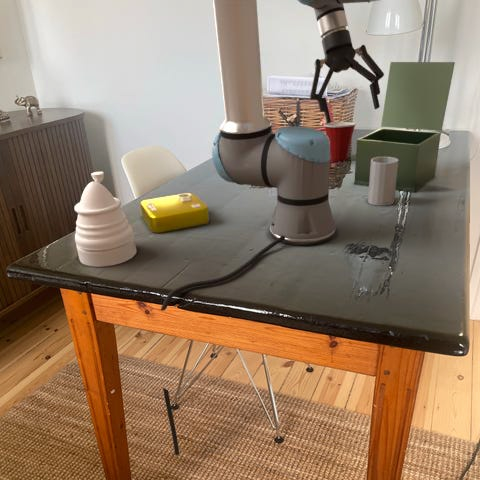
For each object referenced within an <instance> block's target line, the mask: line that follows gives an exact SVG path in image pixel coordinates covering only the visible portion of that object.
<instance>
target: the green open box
mask: <svg viewBox="0 0 480 480" xmlns="http://www.w3.org/2000/svg"><path fill="white" fill-rule="evenodd" d="M441 134H442V132H440V131H427V130H414V129H401V128H388V127H386V128H385V127H381V128H379V129H377V130H374V131H372V132H370V133H368V134H366V135H364V136H361V137H359V138H357V139H356V147H355V148H356V150H355V165H354V166H355V167H354V182H353V183H354V185H359V186H365V187H369V179H370V166H371V159H373V158H376V157H394V158H397V159H398V160H399V162H398V171H397V181H396V191H401V192H408V193H415V192H417V191H418V190H420V189H422V187H423V186H425V185H426V184H427V183H429V182H430V181H432V180H433V179H434V178H435V177H436V172H437V171H436V170H437V163H438V156H439V150H440V143H441V136H442V135H441Z"/></svg>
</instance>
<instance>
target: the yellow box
mask: <svg viewBox="0 0 480 480" xmlns="http://www.w3.org/2000/svg"><path fill="white" fill-rule="evenodd" d="M140 209H141V215H142V219H143V220H144V222H145V223H146V225H147V226H148V227H149V229H150V231H151V232H153V233H155V234H161V233H167V232H172V231H178V230H183V229H187V228H193V227H198V226H205V225H207V224H208V223H209V221H210V217H209V207H208V205H207V204H206V203H205V202H204V201H203V200H201V199H200V197H199V196H197V194H195V193H193V192H184V193H179V194H173V195H167V196H162V197H160V196H159V197H154V198H150V199H143V200H142V201H140Z"/></svg>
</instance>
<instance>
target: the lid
mask: <svg viewBox="0 0 480 480" xmlns="http://www.w3.org/2000/svg"><path fill="white" fill-rule="evenodd" d="M455 65H456V62H455V61H390V64H389V70H388V78H387V84H386V90H385V98H384V103H383V104H384V105H383V110H382V118H381V124H380V127H381V128H385V127H386V128H393V129H407V130H420V131H434V132H442V131H443V126H444V121H445V117H446V116H445V115H446V112H447V111H446V110H447V105H448V101H449V95H450V89H451V85H452V79H453V75H454V70H455Z"/></svg>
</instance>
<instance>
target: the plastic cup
mask: <svg viewBox="0 0 480 480" xmlns="http://www.w3.org/2000/svg"><path fill="white" fill-rule="evenodd" d="M356 125H357V123H356V122H353V121H338V122H330V123H328V124H327V123H324V124H323V127H324V129H325V130H324V131H325V134H326V135H327V136H328V138H329V140H330V154H331V159H330V161H332V162H343V161H347V159H348V157H349V151H350V149H351V148H350V147H351V143H352V139H353V138H352V137H353V133H354V130H355V127H356Z"/></svg>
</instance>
